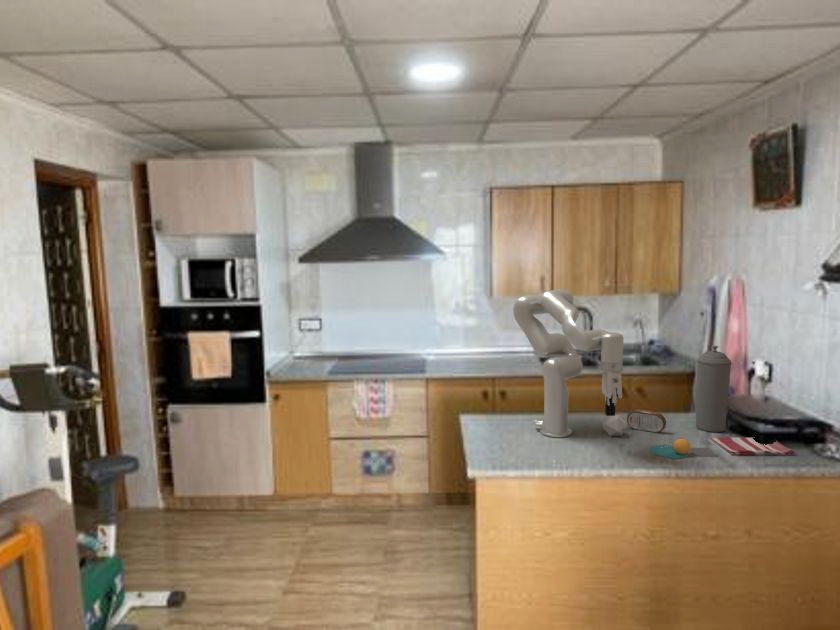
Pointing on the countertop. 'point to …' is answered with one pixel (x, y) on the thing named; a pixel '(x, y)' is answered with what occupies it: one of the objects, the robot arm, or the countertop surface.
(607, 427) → the die
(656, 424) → the tin
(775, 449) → the dish towel
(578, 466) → the countertop surface
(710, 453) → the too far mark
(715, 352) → the canister
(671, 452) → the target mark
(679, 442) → the ball
